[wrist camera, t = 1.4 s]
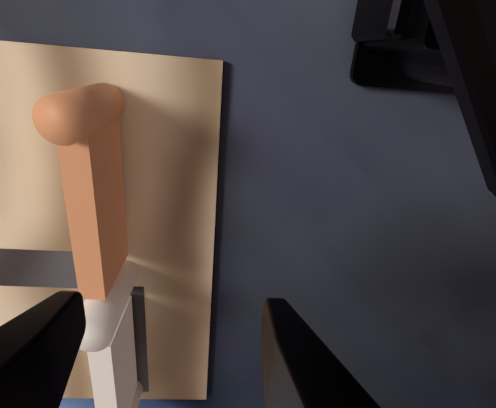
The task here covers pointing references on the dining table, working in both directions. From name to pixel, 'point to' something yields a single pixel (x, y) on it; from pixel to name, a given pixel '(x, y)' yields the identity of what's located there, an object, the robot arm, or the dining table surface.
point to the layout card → (136, 201)
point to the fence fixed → (113, 344)
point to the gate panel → (89, 179)
